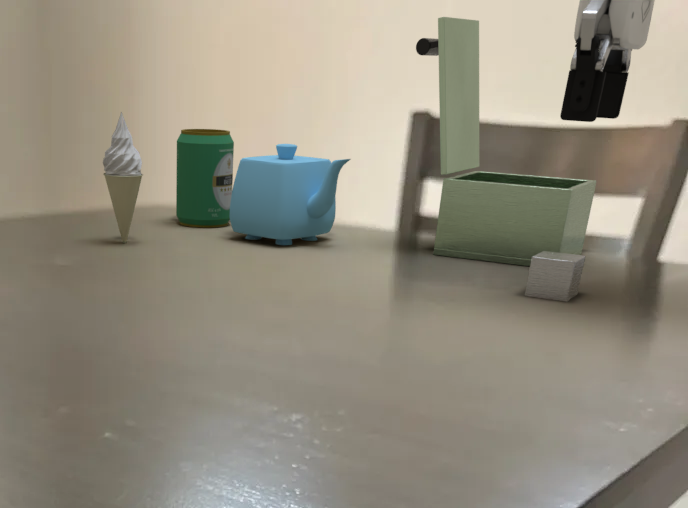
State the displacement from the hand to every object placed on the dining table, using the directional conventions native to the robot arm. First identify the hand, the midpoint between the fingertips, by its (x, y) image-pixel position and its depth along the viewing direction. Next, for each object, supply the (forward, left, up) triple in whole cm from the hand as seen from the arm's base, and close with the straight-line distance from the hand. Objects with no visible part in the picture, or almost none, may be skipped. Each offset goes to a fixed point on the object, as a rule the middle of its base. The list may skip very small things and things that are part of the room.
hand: (589, 119), depth 94 cm
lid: (+27, -15, +1) cm, 31 cm away
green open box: (+19, -18, -17) cm, 31 cm away
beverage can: (+59, 0, -17) cm, 61 cm away
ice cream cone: (+52, +19, -17) cm, 58 cm away
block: (0, +1, -17) cm, 17 cm away
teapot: (+42, -1, -17) cm, 45 cm away
